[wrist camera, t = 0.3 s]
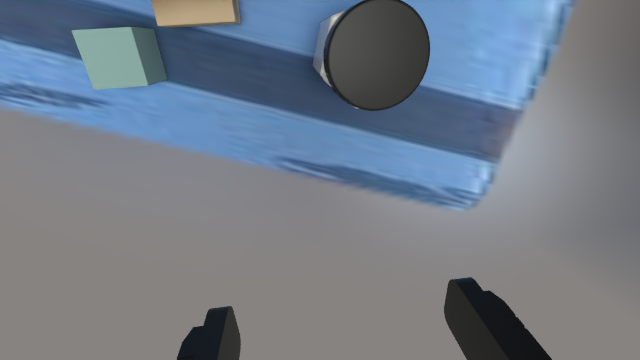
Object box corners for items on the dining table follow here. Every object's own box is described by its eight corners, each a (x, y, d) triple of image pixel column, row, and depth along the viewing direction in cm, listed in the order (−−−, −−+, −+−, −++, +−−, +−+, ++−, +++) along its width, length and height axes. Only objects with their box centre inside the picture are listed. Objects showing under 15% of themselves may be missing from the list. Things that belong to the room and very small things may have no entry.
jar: (295, 53, 33) (299, 60, 22) (345, -11, 31) (377, -38, 20) (352, 106, 36) (380, 134, 25) (401, 51, 34) (454, 57, 23)
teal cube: (103, 31, 30) (71, 30, 26) (153, 28, 31) (130, 27, 26) (120, 82, 32) (93, 89, 28) (167, 79, 33) (148, 85, 28)
